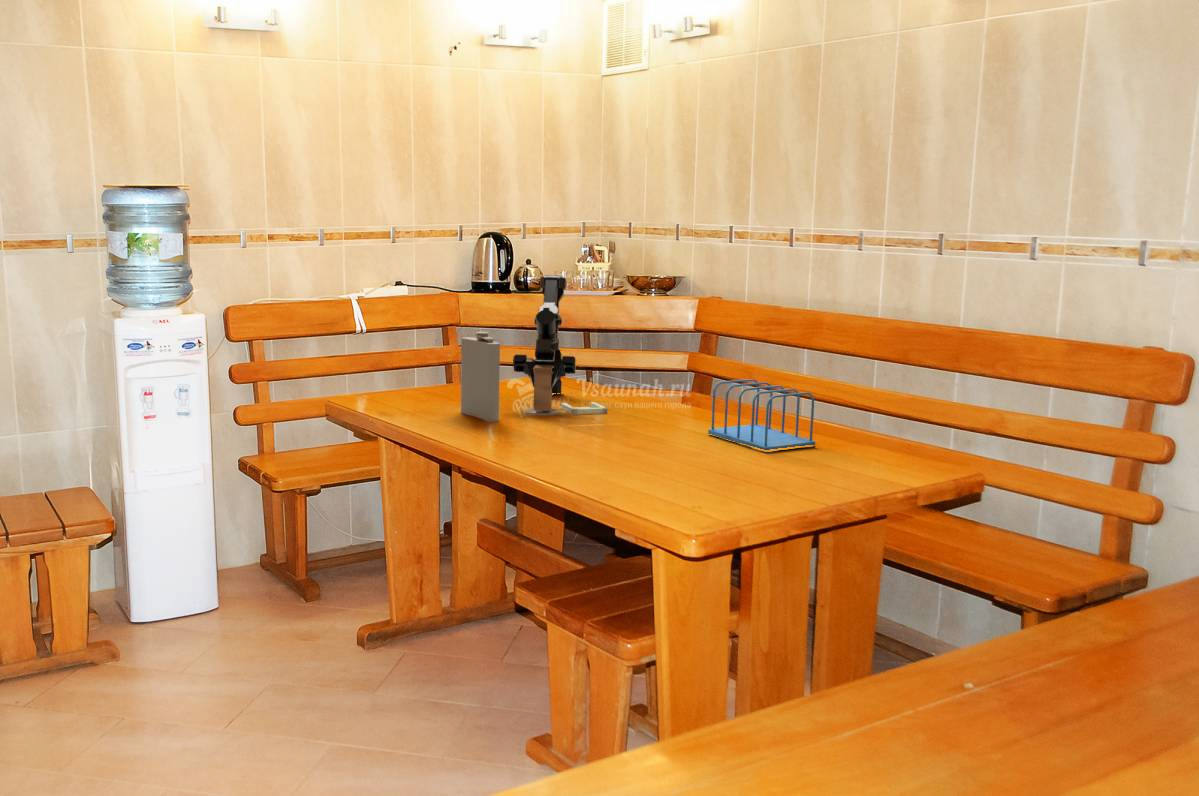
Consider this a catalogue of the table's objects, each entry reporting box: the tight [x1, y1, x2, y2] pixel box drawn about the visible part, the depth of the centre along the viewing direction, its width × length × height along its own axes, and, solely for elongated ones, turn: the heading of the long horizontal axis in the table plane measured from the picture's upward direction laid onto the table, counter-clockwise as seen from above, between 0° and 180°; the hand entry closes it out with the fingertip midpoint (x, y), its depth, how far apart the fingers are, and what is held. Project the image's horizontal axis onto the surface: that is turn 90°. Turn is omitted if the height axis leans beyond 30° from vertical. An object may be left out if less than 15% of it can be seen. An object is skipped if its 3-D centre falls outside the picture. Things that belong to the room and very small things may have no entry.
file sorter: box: [707, 378, 816, 450], centre depth 301 cm, size 25×17×15 cm
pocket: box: [560, 401, 608, 416], centre depth 337 cm, size 11×11×2 cm
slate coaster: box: [523, 408, 562, 416], centre depth 333 cm, size 11×11×1 cm
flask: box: [460, 331, 501, 423], centre depth 324 cm, size 17×5×25 cm, turn 37°
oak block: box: [533, 365, 553, 411], centre depth 332 cm, size 5×5×13 cm
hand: (542, 386), depth 331 cm, fingers open, 5 cm apart
